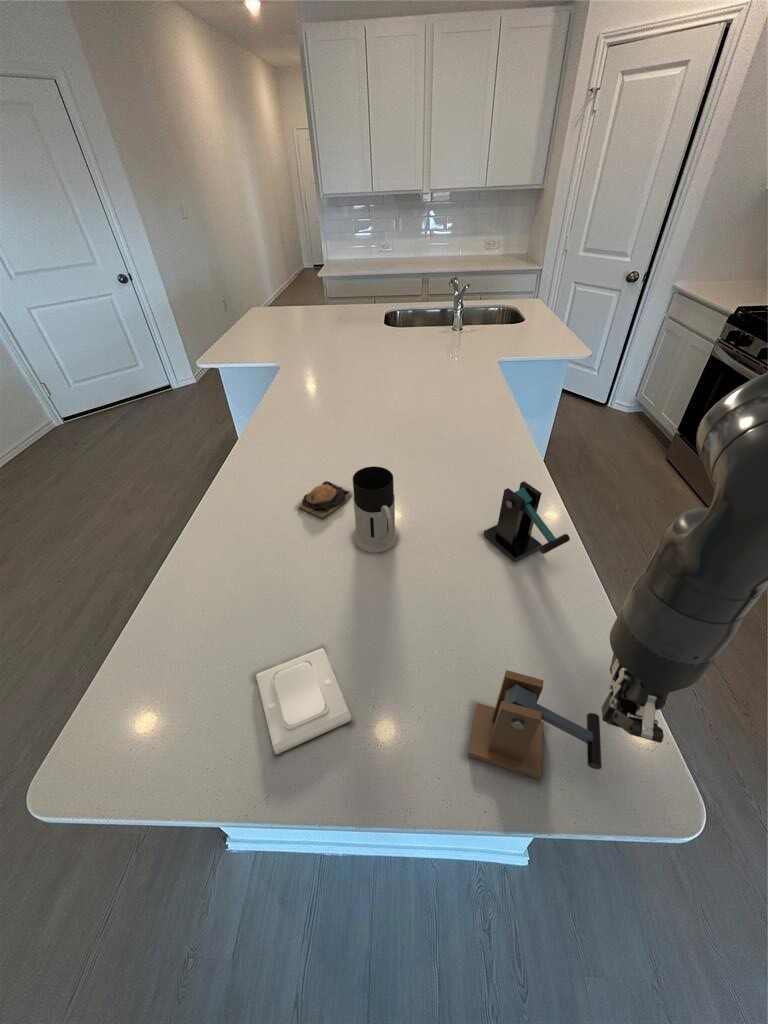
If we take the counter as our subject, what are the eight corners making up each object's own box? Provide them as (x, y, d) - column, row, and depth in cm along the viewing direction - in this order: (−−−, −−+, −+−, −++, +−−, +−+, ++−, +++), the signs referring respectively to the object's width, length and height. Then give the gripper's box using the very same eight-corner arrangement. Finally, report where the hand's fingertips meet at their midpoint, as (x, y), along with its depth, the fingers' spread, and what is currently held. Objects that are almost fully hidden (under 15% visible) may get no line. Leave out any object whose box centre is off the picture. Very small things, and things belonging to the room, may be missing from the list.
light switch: (320, 636, 68) (349, 707, 59) (324, 652, 71) (352, 722, 61) (251, 663, 65) (269, 742, 56) (257, 679, 68) (276, 757, 58)
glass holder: (389, 519, 94) (387, 460, 85) (413, 565, 84) (414, 504, 74) (349, 528, 92) (343, 469, 83) (369, 576, 82) (365, 516, 72)
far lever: (565, 543, 79) (572, 537, 77) (541, 556, 77) (548, 550, 75) (525, 491, 84) (531, 484, 82) (501, 501, 81) (507, 495, 79)
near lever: (591, 721, 55) (604, 715, 54) (593, 771, 51) (607, 766, 49) (506, 677, 55) (517, 669, 53) (501, 723, 51) (512, 717, 49)
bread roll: (324, 521, 94) (322, 508, 92) (295, 507, 98) (293, 494, 96) (354, 495, 101) (353, 482, 99) (326, 483, 105) (325, 470, 102)
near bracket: (541, 726, 60) (564, 677, 52) (538, 779, 55) (563, 735, 47) (476, 706, 63) (487, 657, 55) (467, 756, 58) (479, 710, 49)
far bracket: (540, 548, 86) (555, 497, 78) (514, 562, 84) (526, 511, 76) (508, 523, 92) (519, 473, 84) (483, 535, 90) (491, 485, 82)
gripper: (746, 708, 31) (658, 794, 42) (706, 574, 41) (642, 673, 52) (631, 679, 33) (575, 769, 44) (618, 558, 43) (575, 656, 54)
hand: (611, 717), depth 48 cm, fingers closed
